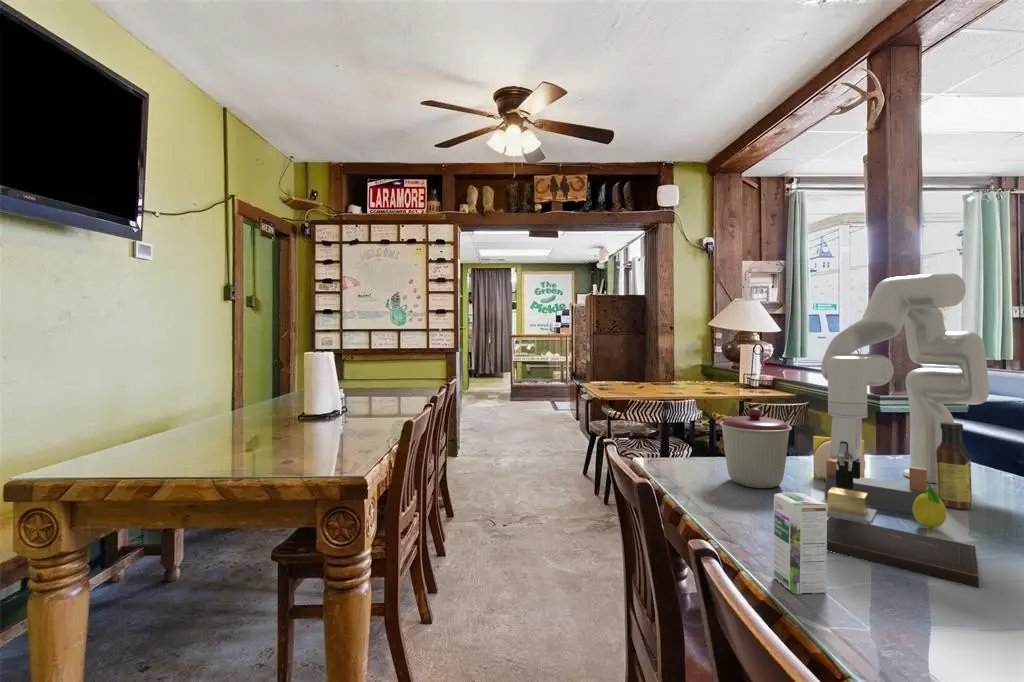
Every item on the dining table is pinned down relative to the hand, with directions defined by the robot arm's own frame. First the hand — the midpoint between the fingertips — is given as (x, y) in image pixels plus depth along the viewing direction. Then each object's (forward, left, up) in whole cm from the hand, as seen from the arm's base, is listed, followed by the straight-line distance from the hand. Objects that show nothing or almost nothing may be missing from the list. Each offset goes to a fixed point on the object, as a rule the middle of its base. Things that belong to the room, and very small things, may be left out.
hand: (848, 482), depth 113 cm
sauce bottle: (-21, +18, -7) cm, 29 cm away
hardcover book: (+19, +10, -8) cm, 23 cm away
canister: (-9, -23, -7) cm, 26 cm away
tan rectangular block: (0, 0, -6) cm, 6 cm away
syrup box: (+46, 0, -7) cm, 46 cm away
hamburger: (-26, -6, -7) cm, 28 cm away
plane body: (-11, +4, -7) cm, 14 cm away
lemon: (+1, +14, -7) cm, 16 cm away
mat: (+1, 0, -7) cm, 7 cm away
